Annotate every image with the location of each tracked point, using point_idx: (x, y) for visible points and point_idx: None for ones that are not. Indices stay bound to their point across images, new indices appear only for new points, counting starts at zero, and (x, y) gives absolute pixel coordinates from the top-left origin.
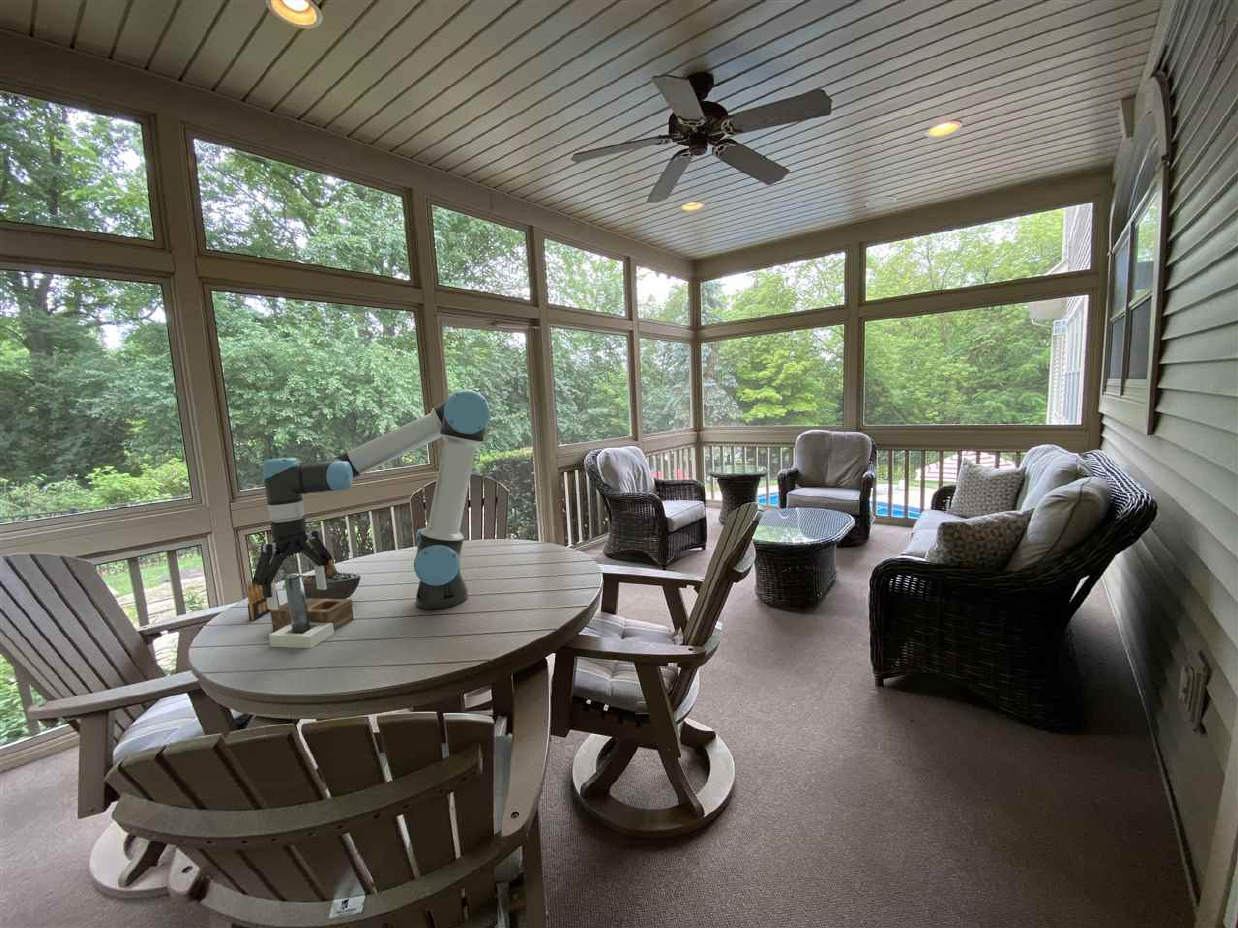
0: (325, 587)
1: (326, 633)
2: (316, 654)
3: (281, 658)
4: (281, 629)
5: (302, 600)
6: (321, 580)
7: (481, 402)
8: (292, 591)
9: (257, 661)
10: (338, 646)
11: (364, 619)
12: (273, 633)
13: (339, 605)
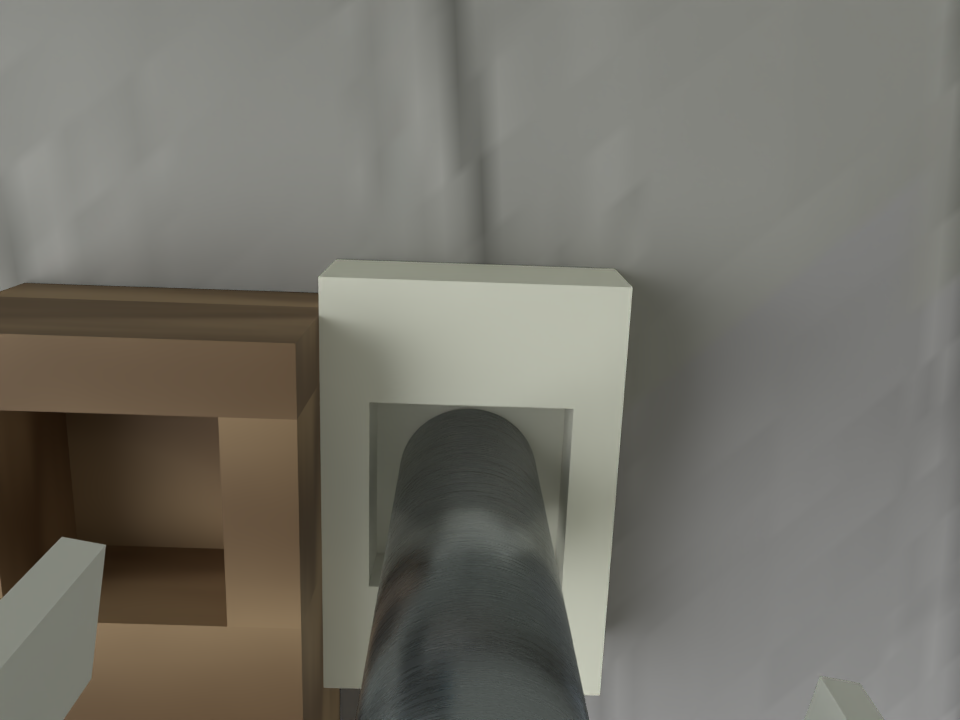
0: (67, 556)
1: (424, 268)
2: (731, 128)
3: (790, 389)
4: None
5: (493, 591)
6: (28, 669)
7: None
8: None
9: (829, 541)
10: (581, 21)
11: (3, 169)
12: None
13: (91, 348)
